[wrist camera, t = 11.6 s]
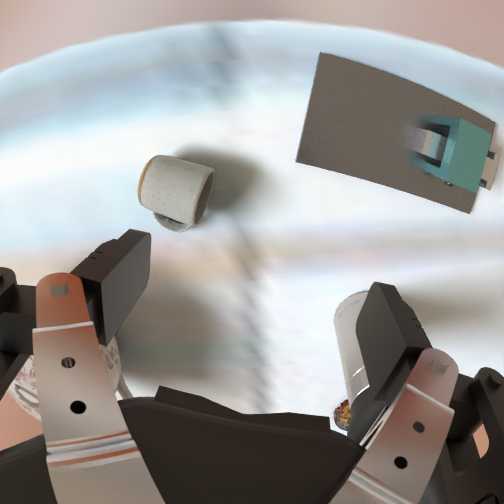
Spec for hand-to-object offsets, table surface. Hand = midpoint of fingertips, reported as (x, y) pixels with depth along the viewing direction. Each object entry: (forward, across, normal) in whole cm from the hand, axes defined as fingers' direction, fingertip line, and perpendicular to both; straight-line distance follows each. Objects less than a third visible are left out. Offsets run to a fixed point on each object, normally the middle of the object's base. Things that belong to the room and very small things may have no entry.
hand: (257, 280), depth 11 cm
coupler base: (+30, -16, -7) cm, 35 cm away
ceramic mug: (+30, +10, +7) cm, 33 cm away
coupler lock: (+29, -22, -8) cm, 37 cm away
